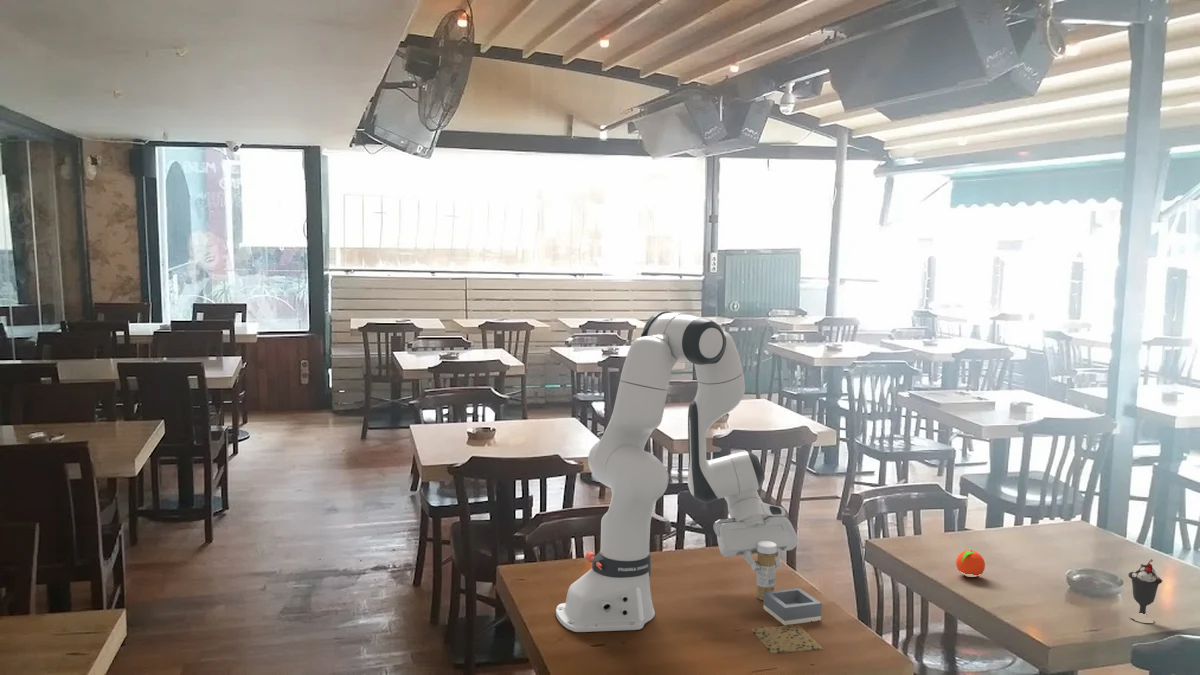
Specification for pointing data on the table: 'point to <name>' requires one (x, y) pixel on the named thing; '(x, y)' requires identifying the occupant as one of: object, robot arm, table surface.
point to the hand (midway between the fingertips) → (767, 568)
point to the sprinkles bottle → (766, 568)
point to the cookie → (786, 639)
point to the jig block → (792, 606)
